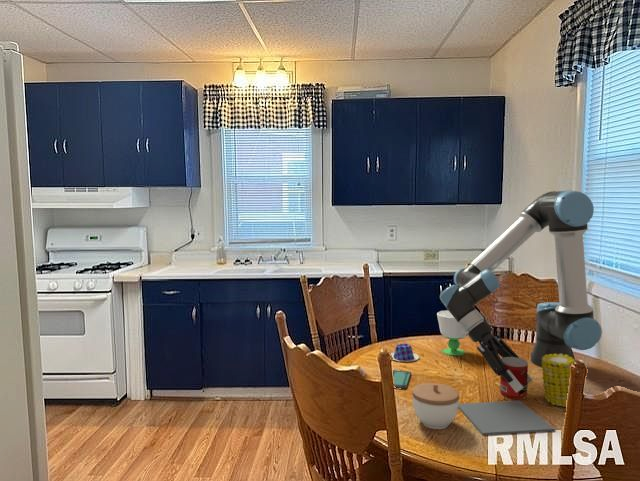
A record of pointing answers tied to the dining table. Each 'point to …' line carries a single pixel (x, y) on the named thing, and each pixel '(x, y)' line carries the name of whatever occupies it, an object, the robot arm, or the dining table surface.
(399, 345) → the pudding
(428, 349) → the dining table surface
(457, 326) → the cup
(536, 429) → the rubber mat
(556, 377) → the food
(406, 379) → the smartphone
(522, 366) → the canned food
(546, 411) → the dining table surface
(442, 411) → the lidded bowl
